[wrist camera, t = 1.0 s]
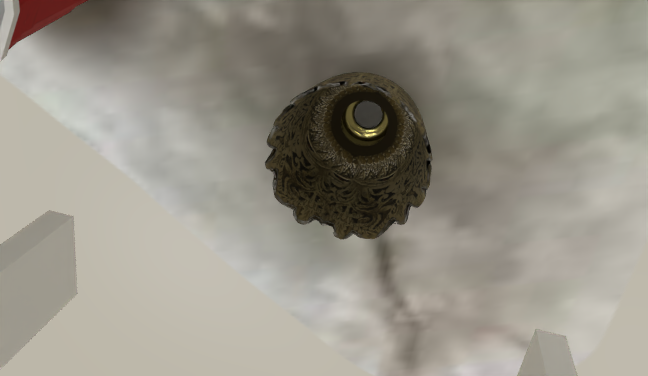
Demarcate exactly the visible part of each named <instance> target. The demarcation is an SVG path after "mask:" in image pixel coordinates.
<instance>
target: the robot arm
mask: <svg viewBox="0 0 648 376" xmlns="http://www.w3.org/2000/svg"><path fill="white" fill-rule="evenodd" d="M75 258H76V257H75V237H74V218H73V216H70V215H66V214H62V213H57V212H54V211H47V212H46V213H45V214H43V215H42V216H40V217H39V218H37V219H36V220H35V221H33V222H32V223H30V224H29V225H27V226H26V227H25V228H23V229H22V230H20V231H19V232H17V233H16V234H15V235H13V236H12V237H10V238H9V239H7V240H6V241H5V242H3V243H2V244H0V369H1V368H2V367H3V366H4V365H5V364H6V363H7V362H8V361H9V360H10V359H11V358H12V357H13V356H14V355H15V354H16V353H17V352H18V351H19V350H20V349H21V348H23V347H24V346H25V344H27V343H28V342H29V341H30V339H32V338H33V337H34V336H35V335H36V334H37V333H38V332H39V331H40V329H42V328H43V327H44V326H45V325H46V324H47V323H48V322H49V321H50V320H51V319H52V318H53V317H54V316H55V315H56V314H57V313H58V312H59V311H60V310H61V309H62V308H63V307H64V306H65V305H66V304H67V303H68V302H69V301H70V300H71V299H72V298H73V297H74V296H75V295H76V294H77V278H76V259H75ZM517 376H577V372H576V369H575V366H574V362H573V359H572V356H571V352H570V349H569V346H568V342H567V339H566V336H562V335H558V334H554V333H550V332H546V331H542V330H538V329H536V330H535V333H534V335H533V338H532V340H531V342H530V345H529V347H528V350H527V352H526V355H525V357H524V360H523V362H522V365H521V367H520V370H519V372H518V375H517Z"/></svg>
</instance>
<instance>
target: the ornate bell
mask: <svg viewBox="0 0 648 376" xmlns="http://www.w3.org/2000/svg"><path fill="white" fill-rule="evenodd" d="M363 101H371V102H374V103H376V104H378V105H379V106H380V108H381V110H382V113H383V116H382V120H381V122H380V123H379V125H377V126H376V127H374V128H369V129H368V128H363V127H361V126H360V125H358V124H357V122H356V121H355V118H354V110H355V108H356V106H357V105H358V104H359V103H361V102H363ZM290 102H291V104H290V105H289V106H288V107H286V108H285V109H284V110H283V112H282V113H281V114H280V115H279V116H278V118H277V119H276V120H275V122H274V126H273V127H274V128H273V129H272V130H271V132H270V134H269V136H268V139H267V144H268V146H269V147H270V148H273V150H272V152H271V154H270V156H269V157H268V159H267V160H266V162H265V165H266V168H267V169H269V170H271V171H272V172H273V171H274V180H273V190H274V195H275V198H276V199H277V200H278V201H279V202H280V203H281V204H283V205H285V206H287V207H289V208H291V209H293V210H294V211H293V216H294V218H295V219H296V221H297V222H298V223H300V224H303V225H305V224H307V223H309V222H312V221H313V220H318V221H319V222H320V224H321V225H323V226H324V225H329V226H331V227H333V228H334V233H333V234H334V236H335V237H337V238H339V239H347V238H348V237H350V236H351V235H352V234H354V235H356V236H358V237H360V238H365V239H375V238H377V237H379V236H380V235H381V234H383V233H384V232H385V231H386V230H387V229H388V228H389V227H390V226H391V225H392V224H393V223H394V222H395V221H396V222H397V224H400V225H402V224H405V223H406V221H407V219H408V214H409V210H410V207H411V206H413V207H416V208H418V207H419V206H420V205H421V204H422V202H423V201H424V199H425V196H426V190H427V189H428V187H429V185H430V174H431V164H430V161H431V160H432V153H431V148H430V145H429V141H428V137H427V133H426V130H425V126H424V123H423V120H422V117H421V115H420V113H419V110H418V108H417V107H416V105H415V103H414V102H413V100H412V99H411V98H410V96H409V95H408V94H407V93H406V92H405V91H404V90H403V89H402V88H401V87H399V86H398V85H397V84H395V83H394V82H392V81H390V80H388V79H386V78H384V77H382V76H379V75H375V74H371V73H364V72H354V73H346V74H342V75H338V76H335V77H332V78H330V79H328V80H325V81H323V82H321V83H319V84H318V85H316V86H314V87H312V88H311V89H309V90H307V91H306V92H304V93H302V94H300V95H298V96H297V97H295V98H294V99H292V100H291V101H290ZM272 169H273V170H272ZM309 220H310V221H309ZM308 221H309V222H308ZM394 224H396V223H394Z"/></svg>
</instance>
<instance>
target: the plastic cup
mask: <svg viewBox="0 0 648 376" xmlns="http://www.w3.org/2000/svg"><path fill="white" fill-rule="evenodd" d="M86 1H88V0H0V61H1V60H3V59H4V58H5V57H6V56H7V52H8V50H9V49H10V48H11V47H12V46H13V45H15V44H16V43H17V42H18V41H20V40H22V39H24V38H26V37H27V36H29V35H31V34H33V33H34V32H36V31H38V30H40V29H41V28H43V27H45V26H47V25H48V24H50V23H52V22H54V21H55V20H57V19H59V18H61V17H62V16H64V15H66V14H68V13H70V12H71V11H72V10H73V9H74V8H75V7H76V6H78V5H80V4H82V3H84V2H86Z"/></svg>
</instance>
